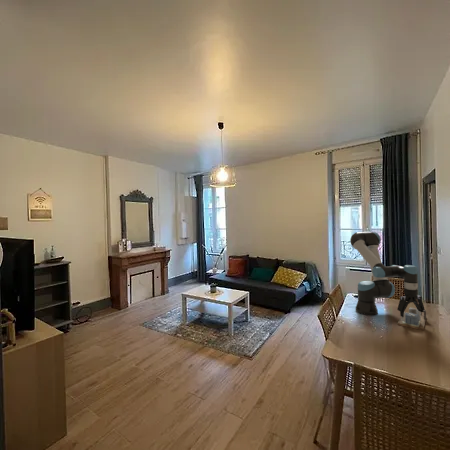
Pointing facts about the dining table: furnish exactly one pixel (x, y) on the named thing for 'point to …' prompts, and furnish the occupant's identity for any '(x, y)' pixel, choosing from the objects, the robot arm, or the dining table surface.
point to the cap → (411, 318)
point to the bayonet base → (420, 326)
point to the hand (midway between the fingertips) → (411, 320)
